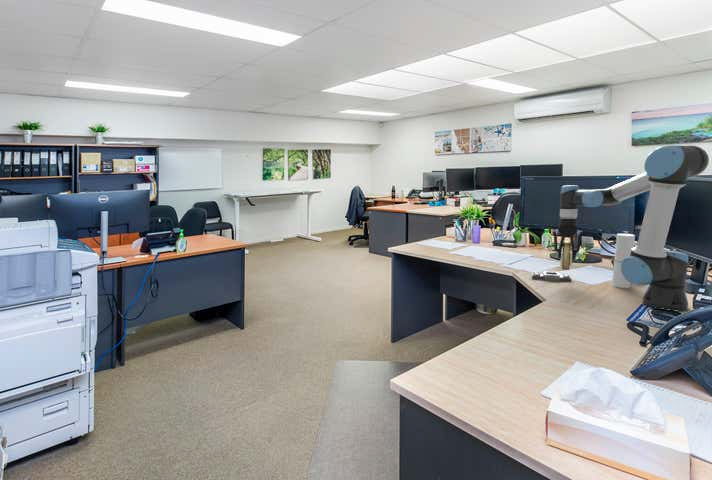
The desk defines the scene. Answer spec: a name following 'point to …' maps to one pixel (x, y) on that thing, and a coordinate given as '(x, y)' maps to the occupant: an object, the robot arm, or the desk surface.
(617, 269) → the cylindrical container
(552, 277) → the chain ends
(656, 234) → the robot arm
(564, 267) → the link pin
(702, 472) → the desk surface
